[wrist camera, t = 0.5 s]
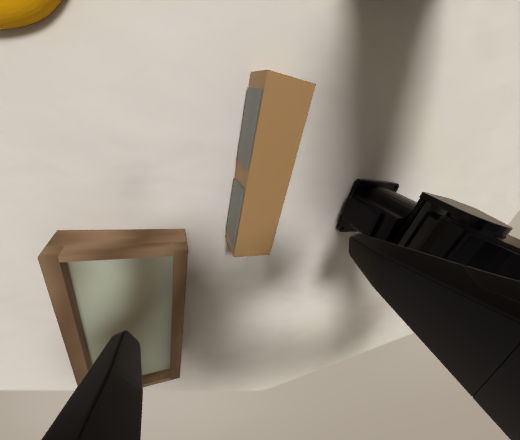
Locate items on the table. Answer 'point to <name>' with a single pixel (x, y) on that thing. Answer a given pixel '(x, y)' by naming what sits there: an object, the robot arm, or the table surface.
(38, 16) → the gold linked rings
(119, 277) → the brown picture frame
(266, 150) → the tan rectangular block
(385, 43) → the table surface
